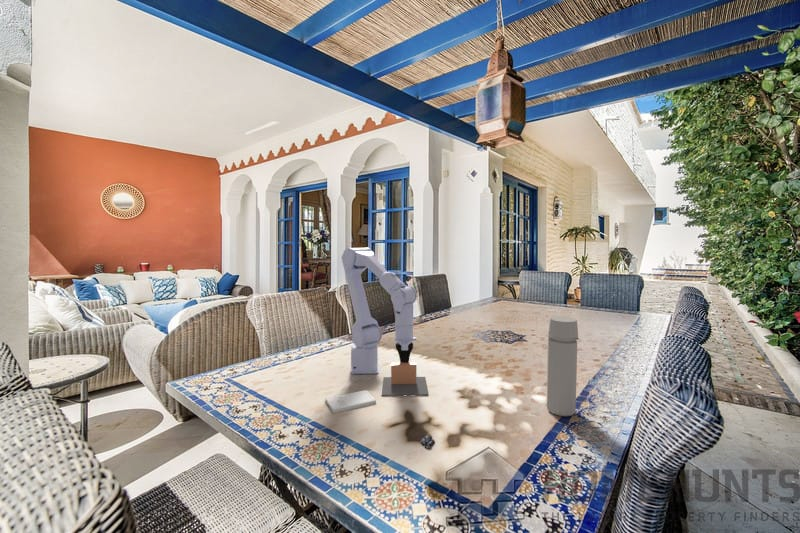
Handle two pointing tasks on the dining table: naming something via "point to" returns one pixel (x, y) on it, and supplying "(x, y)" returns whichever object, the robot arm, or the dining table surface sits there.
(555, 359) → the water bottle
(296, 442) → the dining table surface
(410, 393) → the mat
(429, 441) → the blueberries
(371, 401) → the external hard drive
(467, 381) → the dining table surface
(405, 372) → the terracotta tile
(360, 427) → the dining table surface
